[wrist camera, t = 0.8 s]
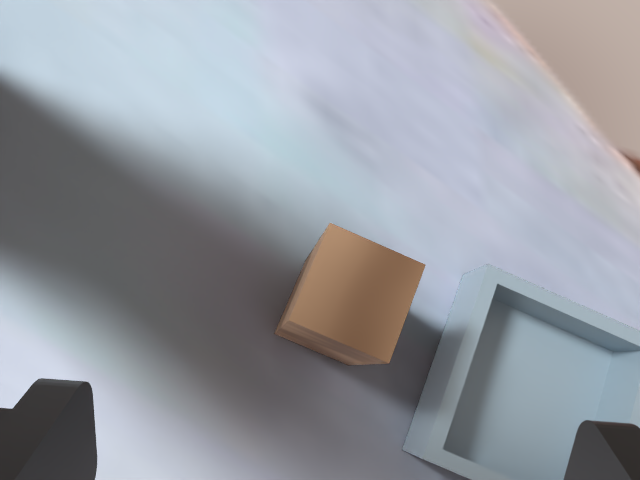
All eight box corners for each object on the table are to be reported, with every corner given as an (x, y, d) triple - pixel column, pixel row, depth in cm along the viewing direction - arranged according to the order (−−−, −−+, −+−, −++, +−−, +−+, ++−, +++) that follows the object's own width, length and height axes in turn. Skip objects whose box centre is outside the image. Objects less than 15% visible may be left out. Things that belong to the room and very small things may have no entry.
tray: (402, 449, 32) (422, 459, 29) (462, 274, 35) (488, 263, 31) (575, 522, 33) (615, 540, 29) (622, 344, 35) (664, 341, 32)
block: (274, 333, 33) (288, 320, 24) (305, 260, 34) (329, 222, 25) (348, 365, 33) (389, 363, 24) (376, 291, 34) (425, 264, 25)
